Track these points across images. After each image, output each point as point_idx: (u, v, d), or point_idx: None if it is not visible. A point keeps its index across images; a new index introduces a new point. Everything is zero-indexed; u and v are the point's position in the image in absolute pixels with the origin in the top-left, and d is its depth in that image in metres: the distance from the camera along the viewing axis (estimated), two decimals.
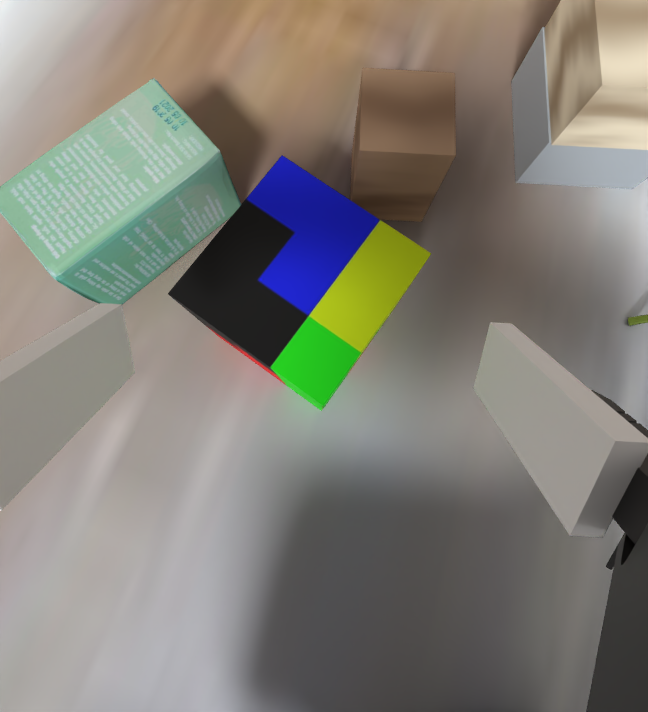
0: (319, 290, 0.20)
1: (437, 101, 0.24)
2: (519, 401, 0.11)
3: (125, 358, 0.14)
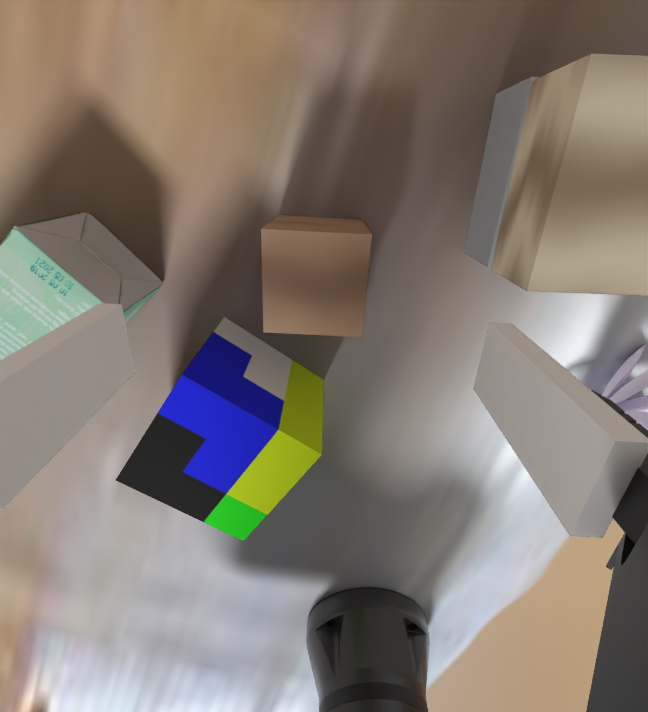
0: (232, 478, 0.26)
1: (348, 274, 0.21)
2: (519, 401, 0.11)
3: (125, 358, 0.14)
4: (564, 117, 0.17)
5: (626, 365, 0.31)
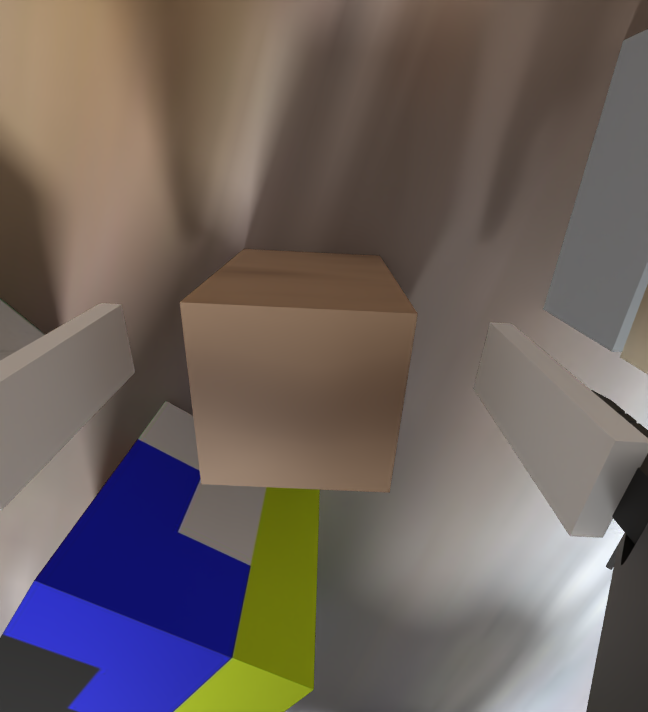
0: None
1: (365, 387, 0.11)
2: (519, 401, 0.11)
3: (125, 358, 0.14)
4: None
5: None
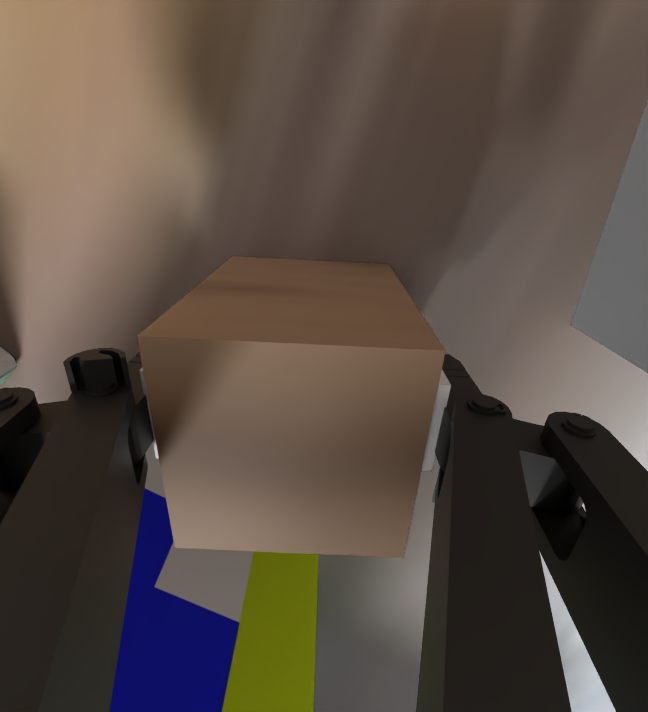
0: None
1: (375, 439, 0.08)
2: None
3: None
4: None
5: None
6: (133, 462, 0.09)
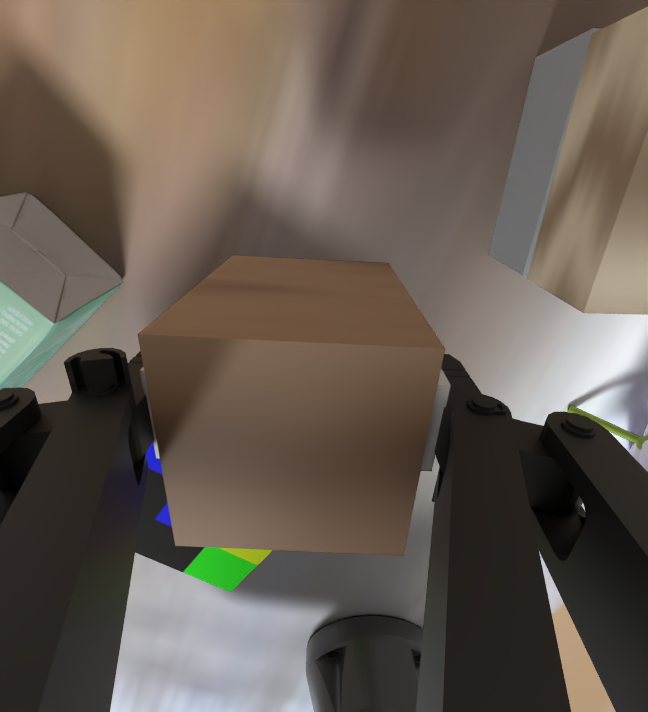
0: None
1: (375, 438, 0.08)
2: None
3: None
4: (647, 79, 0.12)
5: None
6: (133, 462, 0.09)
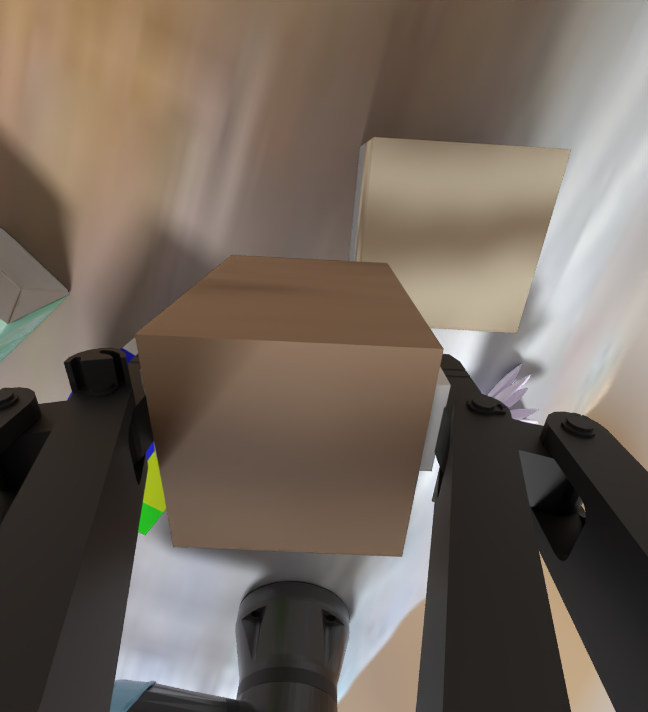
0: None
1: (373, 438, 0.08)
2: None
3: None
4: (367, 183, 0.21)
5: (501, 381, 0.34)
6: (133, 462, 0.09)
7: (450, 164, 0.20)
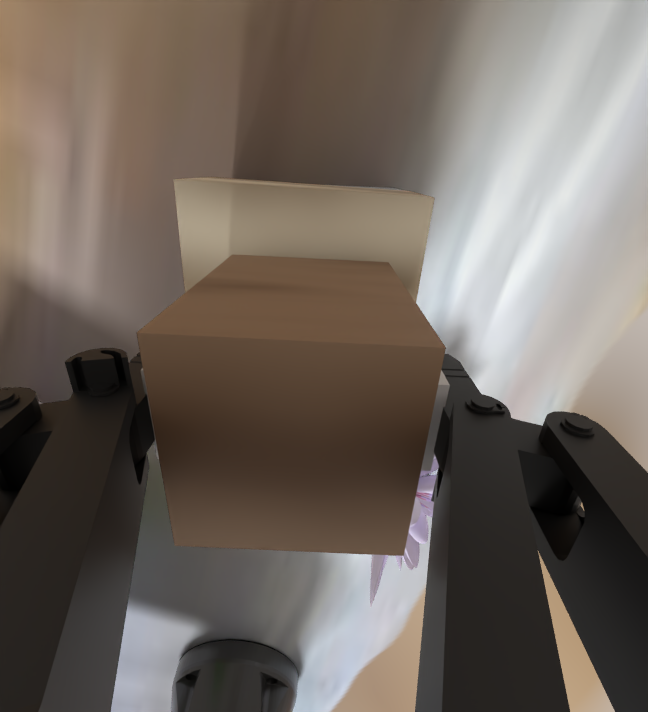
0: None
1: (375, 437, 0.08)
2: None
3: None
4: None
5: None
6: (134, 462, 0.09)
7: (279, 215, 0.15)
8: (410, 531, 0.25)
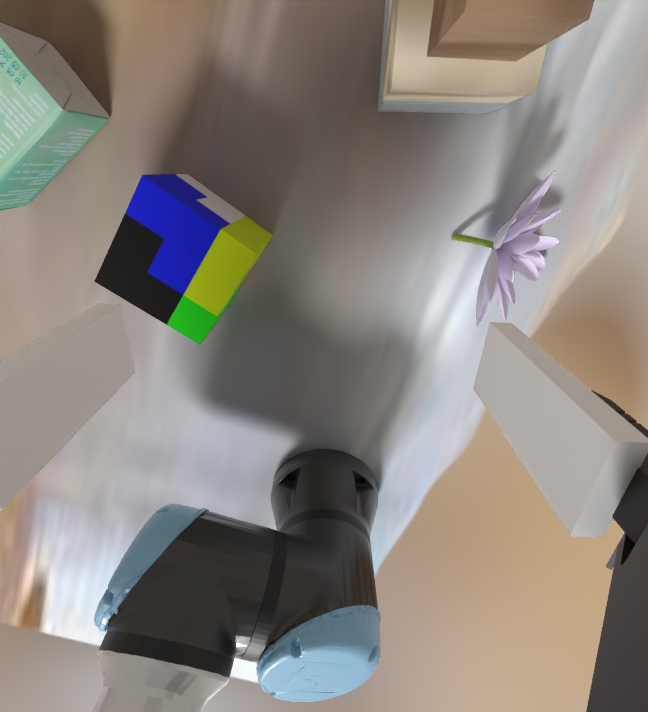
0: (187, 278, 0.32)
1: None
2: (519, 401, 0.11)
3: (125, 358, 0.14)
4: None
5: None
6: None
7: None
8: (521, 247, 0.32)
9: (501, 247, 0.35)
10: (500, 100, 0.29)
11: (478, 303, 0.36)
